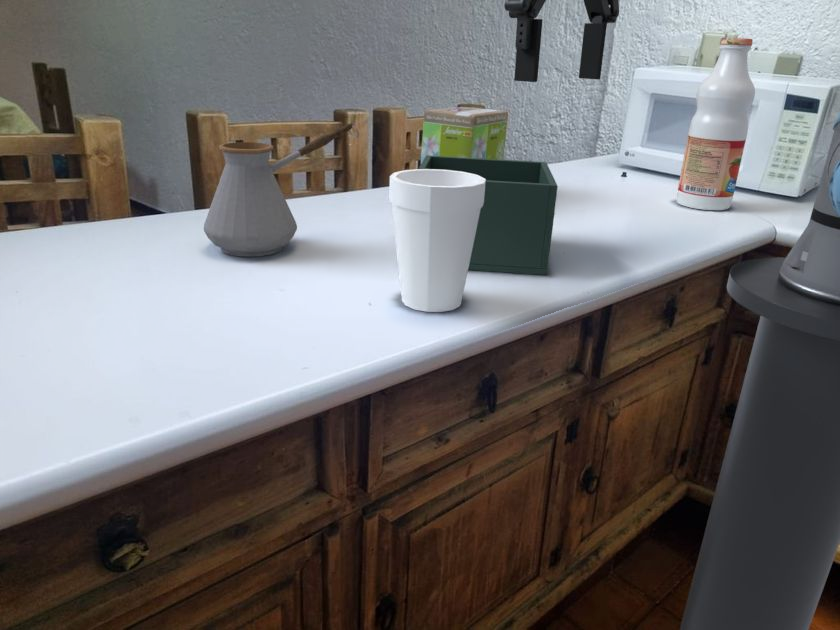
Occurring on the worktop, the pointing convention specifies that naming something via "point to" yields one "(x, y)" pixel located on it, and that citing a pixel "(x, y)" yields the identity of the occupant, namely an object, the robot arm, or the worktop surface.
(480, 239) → the waste bin
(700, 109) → the fruit juice
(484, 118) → the tea box
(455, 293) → the foam cup
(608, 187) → the worktop surface
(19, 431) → the worktop surface
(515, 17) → the robot arm
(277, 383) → the worktop surface
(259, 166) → the coffee pot
